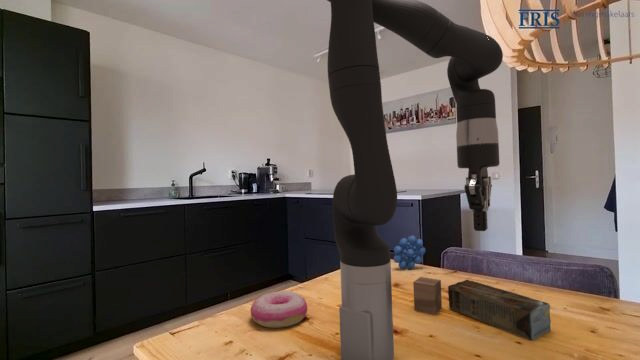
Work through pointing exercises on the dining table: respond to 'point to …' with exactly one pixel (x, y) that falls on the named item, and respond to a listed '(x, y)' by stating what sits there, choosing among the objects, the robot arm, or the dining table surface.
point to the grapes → (409, 252)
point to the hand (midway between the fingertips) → (480, 230)
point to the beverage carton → (500, 308)
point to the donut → (279, 309)
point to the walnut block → (427, 295)
